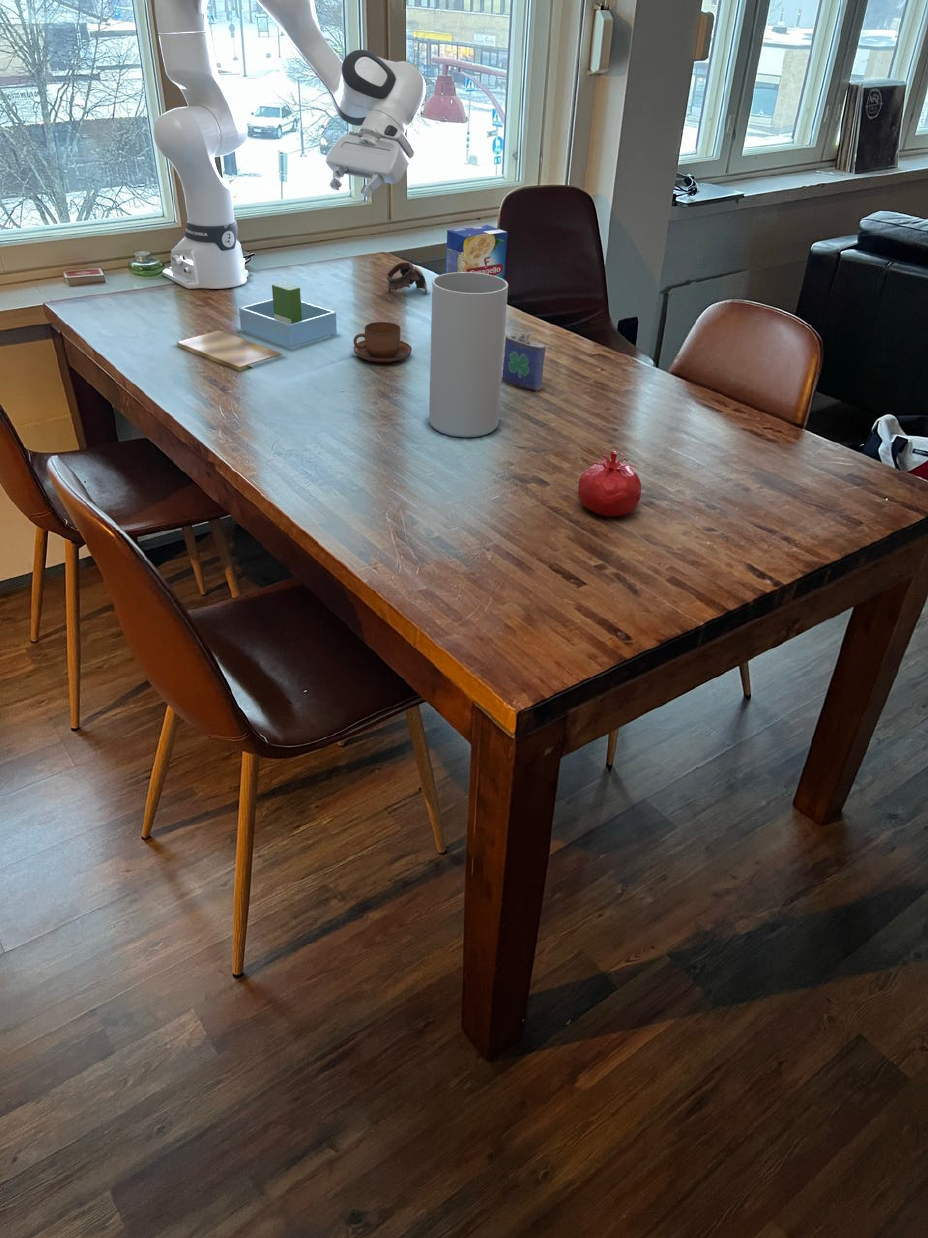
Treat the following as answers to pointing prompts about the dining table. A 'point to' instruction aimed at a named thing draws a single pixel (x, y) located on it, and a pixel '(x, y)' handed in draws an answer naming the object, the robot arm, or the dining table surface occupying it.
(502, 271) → the blue food box
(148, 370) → the dining table surface
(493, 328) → the cylinder vase
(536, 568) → the dining table surface
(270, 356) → the board
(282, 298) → the block
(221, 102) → the robot arm
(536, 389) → the flask
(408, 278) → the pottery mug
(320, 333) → the basin
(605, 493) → the pomegranate
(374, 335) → the cup and saucer
